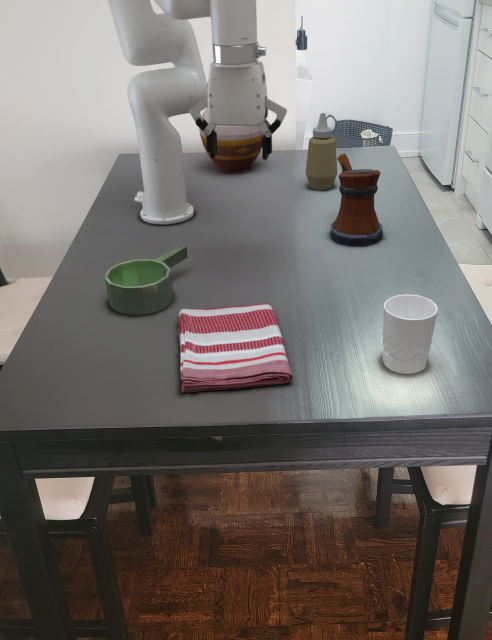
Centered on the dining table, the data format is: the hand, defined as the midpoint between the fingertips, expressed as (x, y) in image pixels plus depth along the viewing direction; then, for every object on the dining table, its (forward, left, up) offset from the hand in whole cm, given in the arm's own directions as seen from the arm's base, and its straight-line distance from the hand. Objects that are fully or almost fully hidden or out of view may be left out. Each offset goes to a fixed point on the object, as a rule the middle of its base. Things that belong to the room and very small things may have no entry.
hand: (239, 156), depth 125 cm
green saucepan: (-10, -17, -22) cm, 29 cm away
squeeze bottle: (-9, +49, -22) cm, 55 cm away
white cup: (+40, -17, -22) cm, 49 cm away
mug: (+10, +27, -22) cm, 37 cm away
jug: (-37, +52, -22) cm, 68 cm away
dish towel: (+14, -27, -22) cm, 38 cm away
